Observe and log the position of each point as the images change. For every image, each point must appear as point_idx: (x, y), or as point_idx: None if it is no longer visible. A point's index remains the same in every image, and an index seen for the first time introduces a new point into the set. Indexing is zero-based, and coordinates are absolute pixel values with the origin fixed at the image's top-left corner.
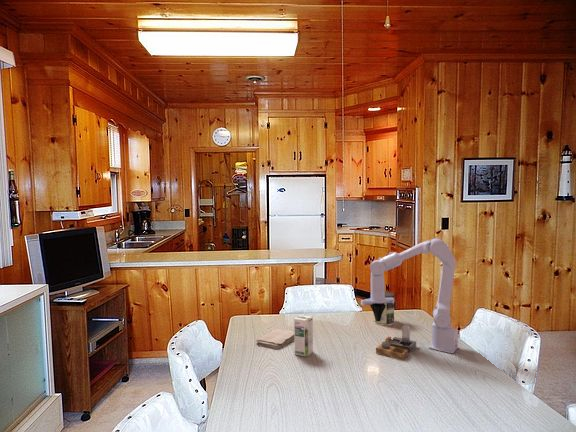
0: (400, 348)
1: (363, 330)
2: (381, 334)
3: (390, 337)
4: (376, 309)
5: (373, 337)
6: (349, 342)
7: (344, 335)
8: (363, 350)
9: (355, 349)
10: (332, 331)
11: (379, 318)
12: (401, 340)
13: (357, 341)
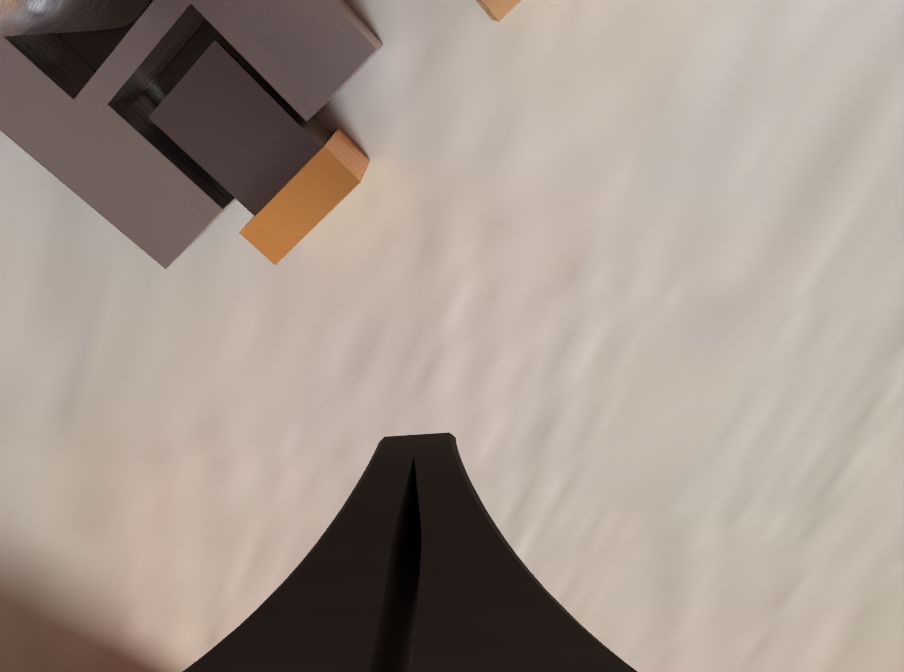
0: None
1: None
2: (293, 494)
3: (255, 225)
4: (559, 648)
5: (426, 431)
6: (794, 342)
7: (732, 536)
8: (771, 32)
9: (859, 96)
10: (794, 643)
11: (405, 467)
12: (99, 94)
13: (680, 353)
